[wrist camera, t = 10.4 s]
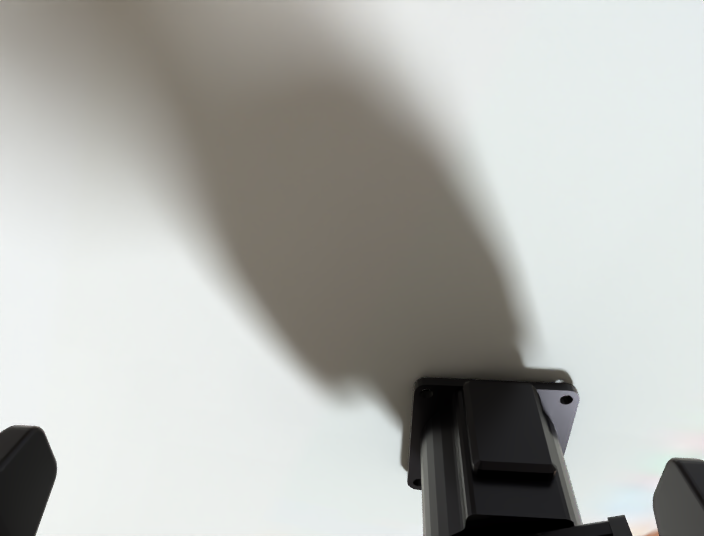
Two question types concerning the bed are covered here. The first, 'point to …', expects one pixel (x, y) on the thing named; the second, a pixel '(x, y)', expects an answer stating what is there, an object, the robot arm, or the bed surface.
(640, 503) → the bed surface
